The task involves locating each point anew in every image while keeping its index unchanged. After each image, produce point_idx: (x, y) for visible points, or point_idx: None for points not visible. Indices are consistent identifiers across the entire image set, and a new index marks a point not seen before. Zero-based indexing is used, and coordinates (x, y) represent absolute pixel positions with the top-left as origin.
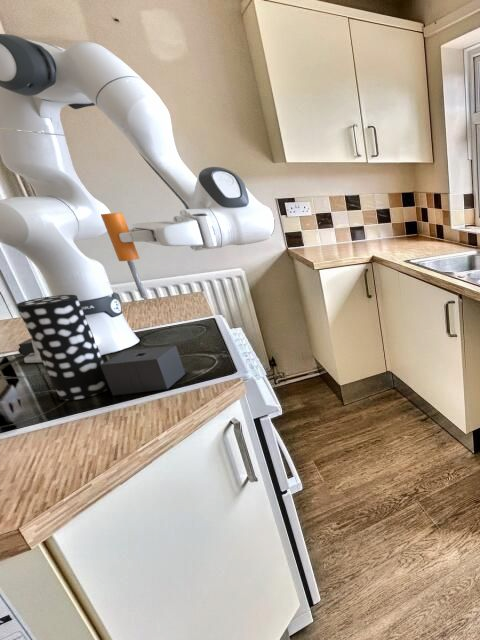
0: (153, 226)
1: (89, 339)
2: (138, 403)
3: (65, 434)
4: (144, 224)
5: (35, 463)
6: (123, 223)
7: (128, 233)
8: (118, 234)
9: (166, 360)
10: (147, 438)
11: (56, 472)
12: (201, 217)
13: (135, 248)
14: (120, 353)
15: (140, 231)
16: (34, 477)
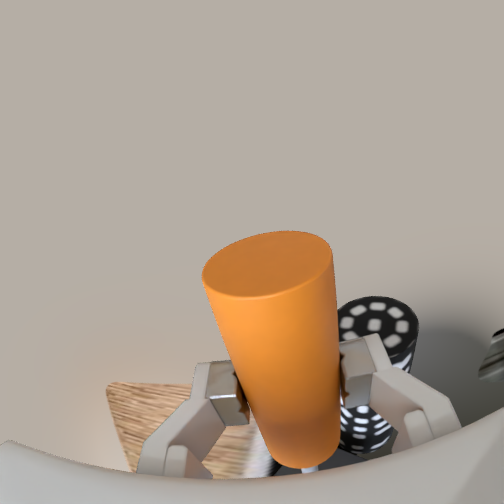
0: (75, 472)
1: (351, 411)
2: (244, 477)
3: None
4: (431, 473)
5: (181, 396)
6: (229, 351)
7: (192, 393)
8: (221, 361)
9: None
10: (134, 457)
11: (148, 404)
12: None
13: (286, 449)
14: (352, 456)
15: (153, 436)
16: (156, 394)
